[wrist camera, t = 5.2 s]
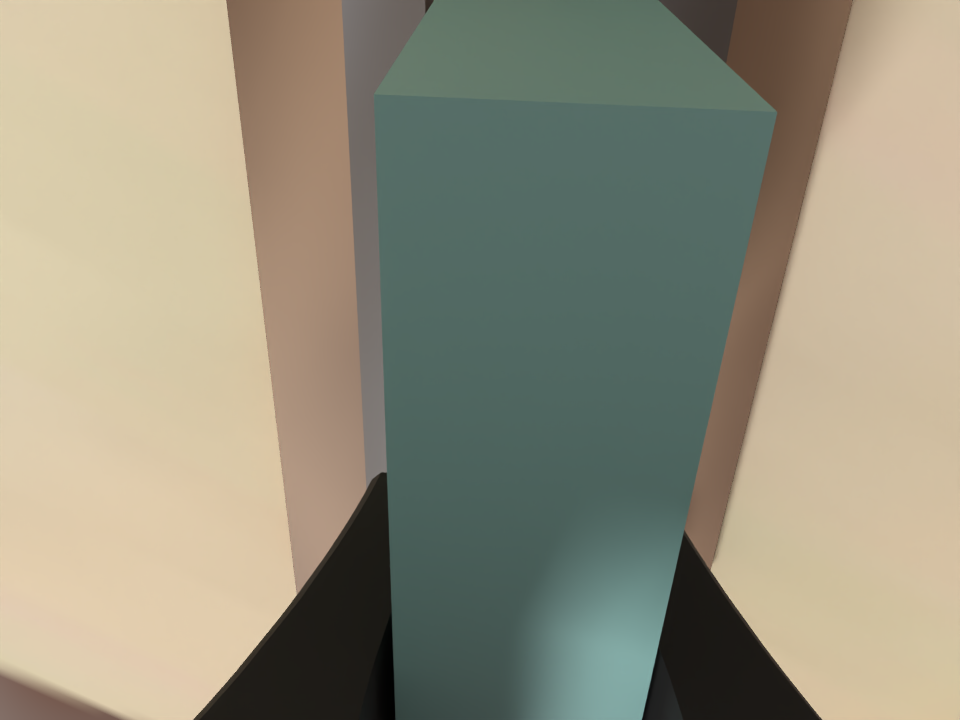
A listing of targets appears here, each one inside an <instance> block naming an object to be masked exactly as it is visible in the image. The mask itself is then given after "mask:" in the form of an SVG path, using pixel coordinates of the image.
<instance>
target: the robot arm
mask: <svg viewBox="0 0 960 720" xmlns="http://www.w3.org/2000/svg"><path fill="white" fill-rule="evenodd" d="M194 720H396V718H395V689H394V661H393V632H392V603H391V575H390V546H389V517H388V488H387V473H386V472H381V473H380V474H378V475H377V476H376V477H374V478H373V479H372V480H371V482H370V484H369V486H368V488H367V490H366V492H365V493H364V495H363V497H362V499H361V500H360V502H359V504H358V505H357V507H356V509H355V511H354V512H353V514H352V515H351V517H350V519H349V520H348V522H347V523H346V525H345V527H344V528H343V530H342V531H341V533H340V534H339V536H338V537H337V539H336V540H335V542H334V543H333V545H332V546H331V548H330V549H329V551H328V552H327V554H326V555H325V557H324V558H323V560H322V561H321V562H320V564H319V565H318V567H317V568H316V569H315V571H314V572H313V574H312V575H311V576H310V578H309V579H308V580H307V582H306V583H305V585H304V586H303V587H302V589H301V590H300V592H299V593H298V594H297V596H296V597H295V598H294V600H293V601H292V603H291V604H290V605H289V607H288V608H287V609H286V610H285V612H284V613H283V614H282V616H281V617H280V618H279V619H278V621H277V622H276V623H275V624H274V626H273V627H272V628H271V629H270V631H269V632H268V633H267V634H266V635H265V637H264V638H263V639H262V640H261V642H260V643H259V644H258V645H257V647H256V648H255V649H254V650H253V651H252V653H251V654H250V655H249V656H248V658H247V659H246V660H245V661H244V662H243V664H242V665H241V666H240V667H239V669H238V670H237V671H236V672H235V673H234V675H233V676H232V677H231V678H230V679H229V680H228V682H227V683H226V684H225V685H224V686H223V687H222V688H221V689H220V691H219V692H218V693H217V694H216V695H215V696H214V697H213V699H212V700H211V701H210V702H209V703H208V704H207V705H206V706H205V707H204V709H203V710H202V711H201V712H200V713H199V714H198V715H197V716H196V717H195V718H194ZM642 720H822V719H821V718H820V717H819V716H818V714H817V713H816V712H815V711H814V709H813V708H812V707H811V706H810V704H809V703H808V702H807V701H806V699H805V698H804V697H803V696H802V694H801V693H800V692H799V691H798V689H797V688H796V687H795V686H794V684H793V683H792V682H791V681H790V679H789V678H788V677H787V676H786V674H785V673H784V672H783V671H782V669H781V668H780V667H779V665H778V664H777V663H776V661H775V660H774V659H773V657H772V656H771V655H770V654H769V652H768V651H767V650H766V648H765V647H764V646H763V644H762V643H761V642H760V640H759V639H758V637H757V636H756V635H755V633H754V632H753V630H752V629H751V628H750V626H749V625H748V624H747V622H746V621H745V619H744V618H743V617H742V615H741V614H740V612H739V611H738V610H737V608H736V607H735V606H734V604H733V603H732V601H731V600H730V599H729V597H728V596H727V594H726V593H725V591H724V590H723V588H722V587H721V585H720V584H719V583H718V581H717V580H716V578H715V577H714V575H713V574H712V572H711V571H710V569H709V568H708V566H707V565H706V563H705V561H704V560H703V558H702V557H701V555H700V554H699V552H698V551H697V549H696V548H695V546H694V545H693V543H692V541H691V540H690V538H689V537H688V535H687V533H686V532H685V530H684V533H683V537H682V542H681V546H680V551H679V555H678V560H677V564H676V569H675V573H674V578H673V582H672V587H671V591H670V596H669V600H668V605H667V609H666V614H665V618H664V623H663V627H662V632H661V636H660V641H659V645H658V649H657V654H656V658H655V663H654V667H653V672H652V676H651V681H650V685H649V690H648V694H647V699H646V703H645V708H644V712H643V717H642Z"/></svg>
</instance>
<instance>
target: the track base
mask: <svg viewBox="0 0 960 720" xmlns="http://www.w3.org/2000/svg"><path fill="white" fill-rule="evenodd" d="M226 1H227V10H228V18H229V27H230V35H231V44H232V52H233V61H234V69H235V77H236V86H237V94H238V103H239V111H240V120H241V128H242V136H243V145H244V153H245V162H246V170H247V179H248V187H249V195H250V204H251V212H252V221H253V229H254V238H255V246H256V255H257V263H258V271H259V280H260V288H261V297H262V305H263V314H264V322H265V330H266V339H267V347H268V356H269V364H270V373H271V381H272V389H273V398H274V406H275V415H276V423H277V432H278V440H279V448H280V457H281V465H282V474H283V482H284V491H285V499H286V508H287V516H288V524H289V533H290V541H291V550H292V558H293V567H294V575H295V583H296V592H297V594H298V593H299V592H300V590H301V589H302V587H303V586H304V585H305V583H306V582H307V580H308V579H309V578H310V576H311V575H312V574H313V572H314V571H315V569H316V568H317V567H318V565H319V564H320V562H321V561H322V560H323V558H324V557H325V555H326V554H327V552H328V551H329V549H330V548H331V546H332V545H333V543H334V542H335V540H336V539H337V537H338V536H339V534H340V533H341V531H342V530H343V528H344V527H345V525H346V523H347V522H348V520H349V519H350V517H351V515H352V514H353V512H354V511H355V509H356V507H357V505H358V504H359V502H360V500H361V499H362V497H363V495H364V493H365V492H366V490H367V488H368V486H369V484H370V482H371V480H372V479H373V478H374V477H376V476H377V475H378V474H380V473H381V472H386V473H387V460H386V431H385V402H384V373H383V345H382V316H381V287H380V258H379V230H378V201H377V172H376V143H375V115H374V93H375V92H376V90H377V88H378V87H379V85H380V84H381V82H382V81H383V79H384V78H385V76H386V74H387V73H388V71H389V70H390V68H391V67H392V65H393V64H394V62H395V60H396V59H397V57H398V56H399V54H400V53H401V51H402V50H403V48H404V46H405V45H406V43H407V42H408V40H409V39H410V37H411V36H412V34H413V32H414V31H415V29H416V28H417V26H418V25H419V23H420V22H421V20H422V18H423V17H424V15H425V14H426V12H427V11H428V9H429V8H430V6H431V4H432V3H433V1H434V0H226ZM659 1H660V2H661V3H662V4H663V5H664V6H665V7H666V8H667V9H668V10H669V11H670V12H671V13H673V14H674V15H675V16H676V17H677V18H678V19H679V20H680V21H681V22H682V23H683V24H684V25H685V26H686V27H687V28H689V29H690V30H691V31H692V32H693V33H694V34H695V35H696V36H697V37H698V38H699V39H700V40H701V41H702V42H703V43H704V44H706V45H707V46H708V47H709V48H710V49H711V50H712V51H713V52H714V53H715V54H716V55H717V56H718V57H719V58H720V59H722V60H723V61H724V62H725V63H726V64H727V65H728V66H729V67H730V68H731V69H732V70H733V71H734V72H735V73H736V74H737V75H739V76H740V77H741V78H742V79H743V80H744V81H745V82H746V83H747V84H748V85H749V86H750V87H751V88H752V89H753V90H755V91H756V92H757V93H758V94H759V95H760V96H761V97H762V98H763V99H764V100H765V101H766V102H767V103H768V104H769V105H770V106H772V107H773V108H774V109H775V110H776V111H777V116H776V121H775V125H774V130H773V134H772V139H771V143H770V147H769V152H768V156H767V161H766V165H765V170H764V174H763V179H762V183H761V188H760V192H759V197H758V201H757V206H756V210H755V215H754V219H753V224H752V228H751V233H750V237H749V242H748V246H747V251H746V255H745V260H744V264H743V269H742V273H741V277H740V282H739V286H738V291H737V295H736V300H735V304H734V309H733V313H732V318H731V322H730V327H729V331H728V336H727V340H726V345H725V349H724V354H723V358H722V363H721V367H720V372H719V376H718V381H717V385H716V390H715V394H714V398H713V403H712V407H711V412H710V416H709V421H708V425H707V430H706V434H705V439H704V443H703V448H702V452H701V457H700V461H699V466H698V470H697V475H696V479H695V484H694V488H693V493H692V497H691V502H690V506H689V511H688V515H687V519H686V524H685V528H684V530H685V532H686V533H687V535H688V537H689V538H690V540H691V541H692V543H693V545H694V546H695V548H696V549H697V551H698V552H699V554H700V555H701V557H702V558H703V560H704V561H705V563H706V565H707V566H708V568H709V569H710V570H711V566H712V562H713V558H714V554H715V550H716V546H717V542H718V538H719V534H720V530H721V526H722V522H723V518H724V514H725V510H726V506H727V502H728V498H729V494H730V490H731V486H732V482H733V478H734V474H735V470H736V466H737V462H738V458H739V454H740V450H741V446H742V442H743V438H744V434H745V430H746V426H747V422H748V418H749V414H750V410H751V406H752V402H753V398H754V394H755V390H756V386H757V382H758V378H759V374H760V370H761V366H762V362H763V358H764V354H765V350H766V346H767V342H768V338H769V334H770V330H771V326H772V322H773V318H774V314H775V310H776V306H777V302H778V298H779V294H780V290H781V286H782V282H783V278H784V274H785V270H786V266H787V262H788V258H789V254H790V250H791V246H792V242H793V238H794V234H795V230H796V226H797V222H798V218H799V214H800V210H801V206H802V202H803V198H804V194H805V190H806V186H807V182H808V178H809V174H810V170H811V166H812V162H813V158H814V154H815V150H816V146H817V142H818V138H819V134H820V130H821V126H822V122H823V118H824V114H825V110H826V106H827V102H828V98H829V94H830V90H831V86H832V82H833V78H834V74H835V70H836V66H837V62H838V58H839V54H840V50H841V46H842V42H843V38H844V34H845V30H846V26H847V22H848V18H849V14H850V10H851V6H852V2H853V0H659Z"/></svg>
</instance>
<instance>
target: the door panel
mask: <svg viewBox="0 0 960 720" xmlns="http://www.w3.org/2000/svg"><path fill="white" fill-rule="evenodd" d="M374 115H375V143H376V172H377V201H378V230H379V258H380V287H381V316H382V345H383V373H384V402H385V431H386V460H387V488H388V517H389V546H390V575H391V603H392V632H393V661H394V689H395V718H396V720H642V717H643V712H644V708H645V703H646V699H647V694H648V690H649V685H650V681H651V676H652V672H653V667H654V663H655V658H656V654H657V649H658V645H659V641H660V636H661V632H662V627H663V623H664V618H665V614H666V609H667V605H668V600H669V596H670V591H671V587H672V582H673V578H674V573H675V569H676V564H677V560H678V555H679V551H680V546H681V542H682V537H683V533H684V528H685V524H686V519H687V515H688V511H689V506H690V502H691V497H692V493H693V488H694V484H695V479H696V475H697V470H698V466H699V461H700V457H701V452H702V448H703V443H704V439H705V434H706V430H707V425H708V421H709V416H710V412H711V407H712V403H713V398H714V394H715V390H716V385H717V381H718V376H719V372H720V367H721V363H722V358H723V354H724V349H725V345H726V340H727V336H728V331H729V327H730V322H731V318H732V313H733V309H734V304H735V300H736V295H737V291H738V286H739V282H740V277H741V273H742V269H743V264H744V260H745V255H746V251H747V246H748V242H749V237H750V233H751V228H752V224H753V219H754V215H755V210H756V206H757V201H758V197H759V192H760V188H761V183H762V179H763V174H764V170H765V165H766V161H767V156H768V152H769V147H770V143H771V139H772V134H773V130H774V125H775V121H776V116H777V111H776V110H775V109H774V108H773V107H772V106H770V105H769V104H768V103H767V102H766V101H765V100H764V99H763V98H762V97H761V96H760V95H759V94H758V93H757V92H756V91H755V90H753V89H752V88H751V87H750V86H749V85H748V84H747V83H746V82H745V81H744V80H743V79H742V78H741V77H740V76H739V75H737V74H736V73H735V72H734V71H733V70H732V69H731V68H730V67H729V66H728V65H727V64H726V63H725V62H724V61H723V60H722V59H720V58H719V57H718V56H717V55H716V54H715V53H714V52H713V51H712V50H711V49H710V48H709V47H708V46H707V45H706V44H704V43H703V42H702V41H701V40H700V39H699V38H698V37H697V36H696V35H695V34H694V33H693V32H692V31H691V30H690V29H689V28H687V27H686V26H685V25H684V24H683V23H682V22H681V21H680V20H679V19H678V18H677V17H676V16H675V15H674V14H673V13H671V12H670V11H669V10H668V9H667V8H666V7H665V6H664V5H663V4H662V3H661V2H660V1H659V0H434V1H433V3H432V4H431V6H430V8H429V9H428V11H427V12H426V14H425V15H424V17H423V18H422V20H421V22H420V23H419V25H418V26H417V28H416V29H415V31H414V32H413V34H412V36H411V37H410V39H409V40H408V42H407V43H406V45H405V46H404V48H403V50H402V51H401V53H400V54H399V56H398V57H397V59H396V60H395V62H394V64H393V65H392V67H391V68H390V70H389V71H388V73H387V74H386V76H385V78H384V79H383V81H382V82H381V84H380V85H379V87H378V88H377V90H376V92H375V93H374Z"/></svg>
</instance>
